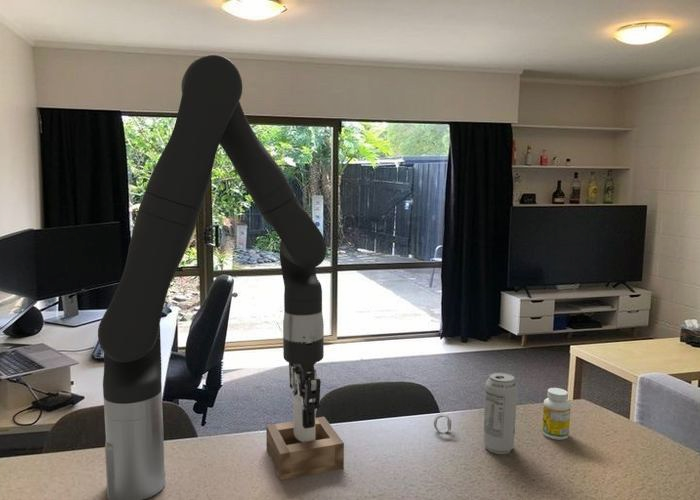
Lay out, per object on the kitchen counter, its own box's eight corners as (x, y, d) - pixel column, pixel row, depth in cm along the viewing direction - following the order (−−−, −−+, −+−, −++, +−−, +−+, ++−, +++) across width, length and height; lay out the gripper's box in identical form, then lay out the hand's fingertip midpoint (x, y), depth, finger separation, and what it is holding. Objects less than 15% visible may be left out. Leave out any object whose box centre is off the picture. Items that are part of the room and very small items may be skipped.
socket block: (280, 480, 99) (280, 453, 99) (266, 449, 111) (266, 425, 110) (343, 468, 104) (343, 443, 103) (324, 439, 115) (324, 416, 114)
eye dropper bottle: (316, 430, 109) (316, 371, 108) (315, 444, 104) (315, 382, 102) (294, 430, 109) (293, 371, 108) (291, 444, 104) (291, 382, 102)
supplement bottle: (568, 442, 115) (571, 397, 113) (541, 437, 116) (544, 394, 115) (568, 431, 120) (571, 388, 118) (542, 427, 121) (544, 385, 120)
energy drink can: (520, 452, 110) (524, 379, 108) (494, 457, 108) (498, 383, 106) (501, 438, 116) (504, 369, 114) (476, 443, 114) (480, 373, 111)
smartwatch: (433, 433, 118) (434, 416, 117) (432, 429, 120) (433, 411, 119) (450, 434, 118) (451, 416, 117) (449, 429, 120) (450, 412, 119)
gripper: (275, 326, 109) (276, 408, 111) (293, 347, 96) (294, 440, 98) (311, 322, 112) (312, 402, 114) (334, 343, 98) (334, 433, 101)
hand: (304, 419), depth 106 cm, fingers closed on eye dropper bottle, 5 cm apart
